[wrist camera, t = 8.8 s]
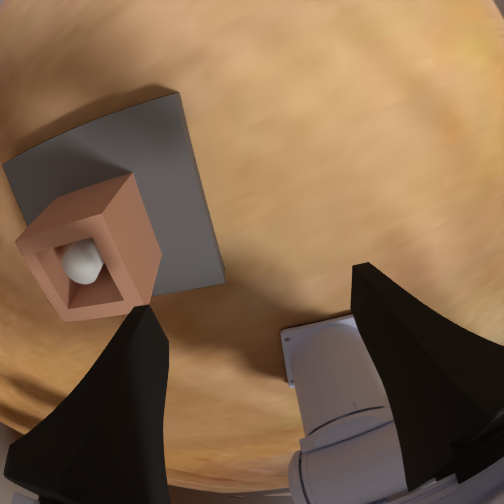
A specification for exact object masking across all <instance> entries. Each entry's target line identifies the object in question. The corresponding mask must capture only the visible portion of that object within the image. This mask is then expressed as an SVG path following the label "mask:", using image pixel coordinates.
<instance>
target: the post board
mask: <svg viewBox="0 0 504 504" xmlns="http://www.w3.org/2000/svg"><path fill="white" fill-rule="evenodd" d="M2 165H3V168H4V171H5V173H6V176H7V179H8V181H9V184H10V186H11V189H12V191H13V194H14V196H15V198H16V201H17V203H18V205H19V208H20V210H21V212H22V214H23V217H24V219H25V221H26V223H27V225H28V226H29V225H30V224H31V223H32V222H33V221H34V220H35V219H36V218H37V217H38V216H39V215H40V214H41V213H42V212H43V211H44V210H45V209H46V208H47V207H48V206H49V205H50V204H51V203H52V202H53V201H54V200H55V199H56V198H57V197H60V196H63V195H65V194H68V193H71V192H74V191H76V190H79V189H82V188H85V187H88V186H91V185H94V184H97V183H100V182H103V181H106V180H109V179H113V178H116V177H119V176H122V175H126V174H129V173H133V174H134V177H135V180H136V183H137V186H138V189H139V192H140V195H141V198H142V201H143V204H144V207H145V209H146V212H147V215H148V218H149V220H150V223H151V226H152V229H153V231H154V234H155V237H156V239H157V242H158V245H159V247H160V250H161V252H162V256H161V260H160V264H159V268H158V271H157V275H156V279H155V283H154V287H153V291H152V296H157V295H162V294H168V293H174V292H180V291H185V290H191V289H197V288H202V287H208V286H213V285H219V284H224V283H225V268H224V265H223V261H222V258H221V254H220V251H219V247H218V243H217V240H216V236H215V232H214V229H213V225H212V221H211V217H210V214H209V210H208V206H207V202H206V199H205V195H204V191H203V187H202V183H201V179H200V176H199V172H198V168H197V164H196V160H195V156H194V152H193V148H192V144H191V140H190V136H189V132H188V127H187V123H186V119H185V115H184V111H183V107H182V102H181V98H180V94H179V92H178V93H175V94H171V95H167V96H164V97H160V98H157V99H153V100H150V101H147V102H143V103H140V104H137V105H134V106H131V107H128V108H125V109H122V110H119V111H117V112H114V113H111V114H108V115H106V116H103V117H100V118H98V119H95V120H92V121H90V122H87V123H85V124H83V125H80V126H78V127H75V128H73V129H71V130H68V131H66V132H64V133H62V134H59V135H57V136H55V137H53V138H51V139H49V140H47V141H45V142H43V143H40V144H38V145H36V146H34V147H33V148H31V149H29V150H27V151H25V152H23V153H21V154H19V155H17V156H15V157H14V158H12V159H10V160H9V161H7V162H6V163H4V164H2ZM103 264H104V260H103V258H102V256H101V254H100V252H99V250H98V248H97V246H96V244H95V241H94V239H93V237H91V238H87V239H83V240H80V241H76V242H73V243H72V244H71V246H70V247H69V249H68V250H67V252H66V253H65V255H64V256H63V258H62V267H63V270H64V272H65V273H66V275H67V276H68V277H69V278H70V279H72V280H73V281H75V282H77V283H80V284H90V283H92V282H94V281H95V280H96V278H97V276H98V274H99V272H100V270H101V268H102V266H103Z"/></svg>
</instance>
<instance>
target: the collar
mask: <svg viewBox="0 0 504 504" xmlns="http://www.w3.org/2000/svg"><path fill="white" fill-rule="evenodd" d="M91 237H93V239H94V241H95V244H96V246H97V248H98V250H99V252H100V254H101V256H102V258H103V260H104V264H103V266H102V268H101V270H100V272H99V274H98V276H97V278H96V280H95V281H94V282H92V283H90V284H80V283H77V282H75V281H73V280H72V279H70V278H69V277H68V276H67V275H66V273H65V272H64V270H63V267H62V258H63V256H64V255H65V253H66V252H67V250H68V249H69V247H70V246H71V244H72V243H73V242H76V241H80V240H83V239H87V238H91ZM15 243H16V245H17V247H18V248H19V250H20V252H21V254H22V256H23V258H24V259H25V261H26V263H27V265H28V267H29V268H30V270H31V272H32V274H33V275H34V277H35V279H36V280H37V282H38V284H39V285H40V287H41V288H42V290H43V292H44V293H45V295H46V296H47V298H48V299H49V301H50V302H51V304H52V305H53V307H54V308H55V310H56V311H57V313H58V314H59V316H60V317H61V319H62V320H63V322H64V323H66V322H74V321H82V320H90V319H97V318H105V317H112V316H119V315H126V314H129V313H130V311H131V310H132V309H133V307H135V306H141V305H147V304H150V300H151V296H152V291H153V287H154V283H155V279H156V275H157V271H158V268H159V264H160V260H161V256H162V252H161V250H160V247H159V245H158V242H157V239H156V237H155V234H154V231H153V229H152V226H151V223H150V220H149V218H148V215H147V212H146V209H145V207H144V204H143V201H142V198H141V195H140V192H139V189H138V186H137V183H136V180H135V177H134V174H133V173H129V174H126V175H122V176H119V177H116V178H113V179H109V180H106V181H103V182H100V183H97V184H94V185H91V186H88V187H85V188H82V189H79V190H76V191H74V192H71V193H68V194H65V195H63V196H60V197H57V198H56V199H55V200H54V201H53V202H52V203H51V204H50V205H49V206H48V207H47V208H46V209H45V210H44V211H43V212H42V213H41V214H40V215H39V216H38V217H37V218H36V219H35V220H34V221H33V222H32V223H31V224H30V225H29V226H28V227H27V228H26V230H25V231H24V232H23V233H22V234H21V235H20V236H19V237H18V238H17V240H16V241H15Z"/></svg>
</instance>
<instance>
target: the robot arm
mask: <svg viewBox="0 0 504 504" xmlns="http://www.w3.org/2000/svg"><path fill="white" fill-rule="evenodd" d="M350 308H351V311H352V314H351V315H347V316H343V317H339V318H334V319H330V320H326V321H321V322H317V323H312V324H308V325H303V326H298V327H294V328H289V329H284V330H283V331H281V333H280V335H281V341H282V347H283V353H284V360H285V366H286V372H287V378H288V384H289V387H290V388H295V390H296V394H297V399H298V404H299V408H300V413H301V418H302V423H303V428H304V433H305V438H302V439H300V440H299V442H300V447H301V450H299V451H296V452H295V453H294V454H293V457H292V459H291V461H290V463H289V467H288V481H289V487H290V491H291V495H292V498H293V500H294V503H295V504H504V346H502V345H499V344H497V343H494V342H492V341H489V340H487V339H485V338H483V337H480V336H478V335H476V334H474V333H472V332H470V331H468V330H466V329H464V328H462V327H460V326H459V325H457V324H455V323H453V322H452V321H450V320H448V319H447V318H445V317H443V316H442V315H440V314H438V313H437V312H435V311H434V310H432V309H431V308H429V307H428V306H426V305H425V304H423V303H422V302H421V301H419V300H418V299H416V298H415V297H414V296H412V295H411V294H409V293H408V292H407V291H405V290H404V289H403V288H401V287H400V286H399V285H398V284H396V283H395V282H394V281H392V280H391V279H390V278H388V277H387V276H386V275H385V274H383V273H382V272H381V271H380V270H378V269H377V268H376V267H374V266H373V265H372V264H370V263H369V262H367V263H362V264H358V265H353V266H352V289H351V306H350ZM168 371H169V341H168V339H167V337H166V335H165V333H164V331H163V330H162V328H161V326H160V324H159V322H158V320H157V318H156V317H155V315H154V313H153V311H152V309H151V307H150V305H149V304H147V305H141V306H135V307H133V309H132V310H131V311H130V313H129V314H128V316H127V317H126V319H125V320H124V321H123V323H122V324H121V326H120V327H119V329H118V330H117V332H116V333H115V335H114V336H113V338H112V339H111V341H110V342H109V343H108V345H107V346H106V348H105V349H104V351H103V352H102V354H101V355H100V356H99V358H98V359H97V360H96V362H95V363H94V364H93V366H92V367H91V369H90V370H89V371H88V373H87V374H86V375H85V376H84V378H83V379H82V380H81V381H80V383H79V384H78V385H77V386H76V387H75V388H74V390H73V391H72V392H71V393H70V394H69V395H68V396H67V397H66V398H65V399H64V400H63V401H62V402H61V403H60V404H59V405H58V406H57V407H56V409H55V410H54V411H53V412H52V413H50V414H49V415H48V416H47V417H46V418H45V419H44V420H43V421H42V422H40V423H39V424H38V425H37V426H36V427H34V428H33V429H32V430H31V431H29V432H28V433H27V434H25V435H24V436H22V437H21V438H20V439H18V440H17V441H15V442H14V443H13V444H11V445H10V446H9V450H8V454H7V459H6V464H5V469H4V476H5V477H6V478H7V479H8V480H10V481H12V482H14V483H15V484H17V485H19V486H21V487H23V488H25V489H27V490H29V491H31V492H33V493H35V494H37V495H40V496H41V498H40V501H37V500H35V499H32V498H30V497H27V496H25V495H22V494H20V493H17V492H13V497H12V503H11V504H171V502H170V497H169V491H168V486H167V477H166V470H165V458H164V443H163V417H164V407H165V398H166V389H167V380H168Z"/></svg>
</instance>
